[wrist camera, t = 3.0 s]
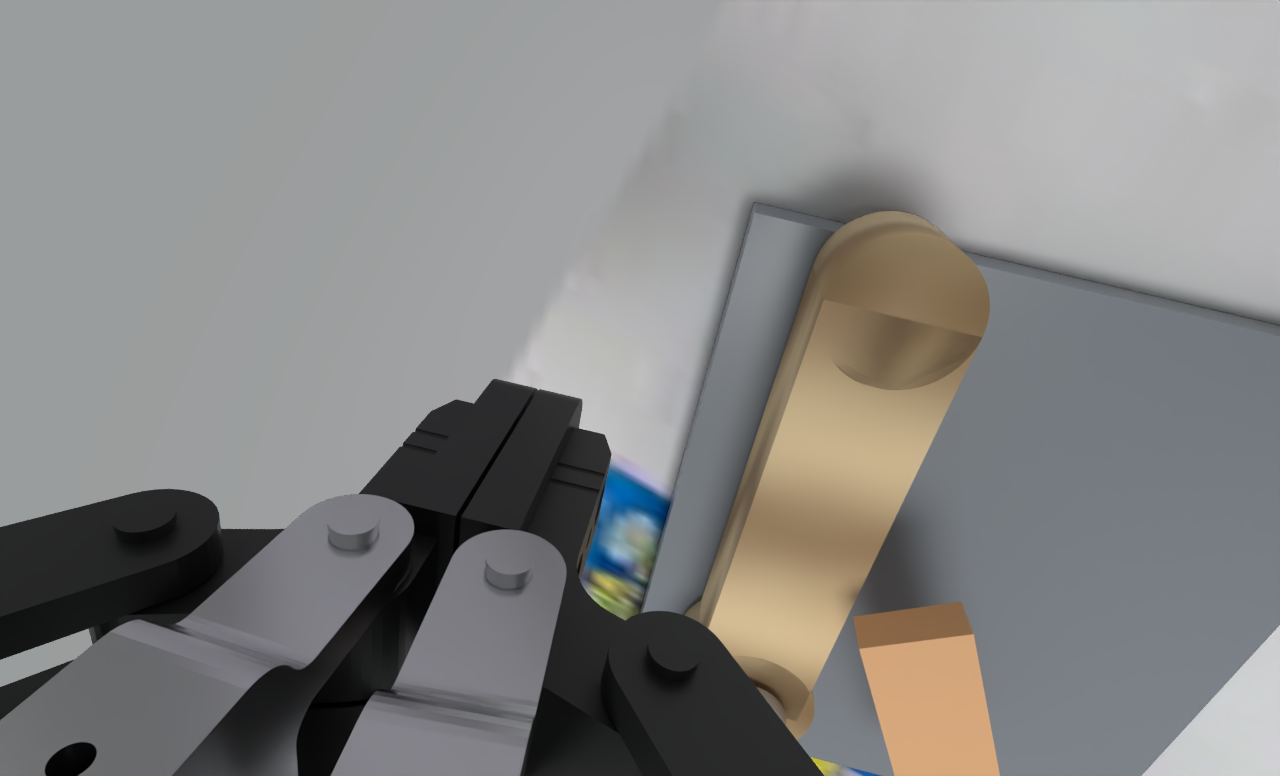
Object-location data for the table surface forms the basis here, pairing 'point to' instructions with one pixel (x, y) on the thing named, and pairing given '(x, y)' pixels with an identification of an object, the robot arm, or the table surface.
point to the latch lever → (840, 445)
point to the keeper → (928, 691)
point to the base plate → (1033, 508)
